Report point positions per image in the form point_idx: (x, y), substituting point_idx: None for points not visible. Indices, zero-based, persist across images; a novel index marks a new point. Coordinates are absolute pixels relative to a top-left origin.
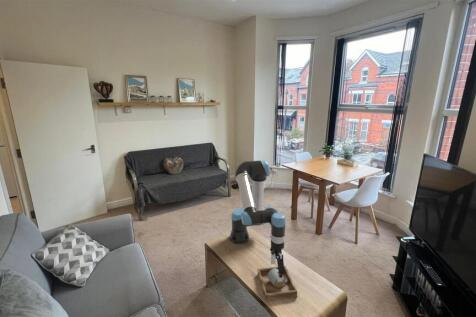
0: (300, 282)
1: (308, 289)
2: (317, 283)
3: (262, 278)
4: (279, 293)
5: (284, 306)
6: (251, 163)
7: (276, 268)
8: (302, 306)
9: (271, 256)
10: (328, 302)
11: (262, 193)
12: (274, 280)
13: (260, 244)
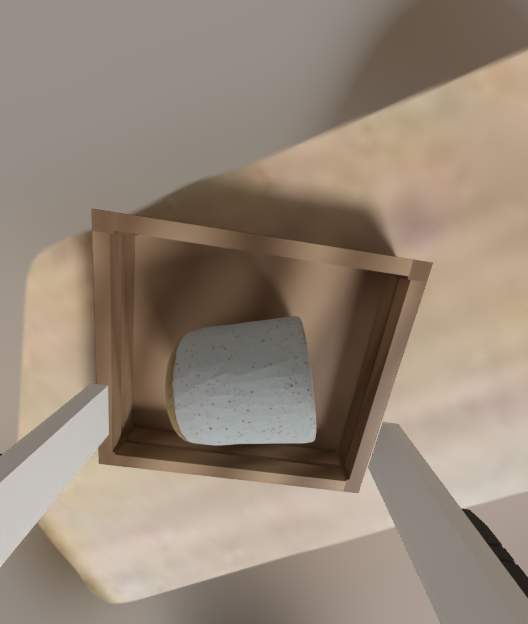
0: (227, 488)
1: (168, 501)
2: (196, 555)
3: (331, 276)
4: (95, 337)
5: (69, 327)
6: None
7: (364, 422)
8: None
9: (487, 578)
10: (71, 541)
11: None
12: (187, 355)
13: None
